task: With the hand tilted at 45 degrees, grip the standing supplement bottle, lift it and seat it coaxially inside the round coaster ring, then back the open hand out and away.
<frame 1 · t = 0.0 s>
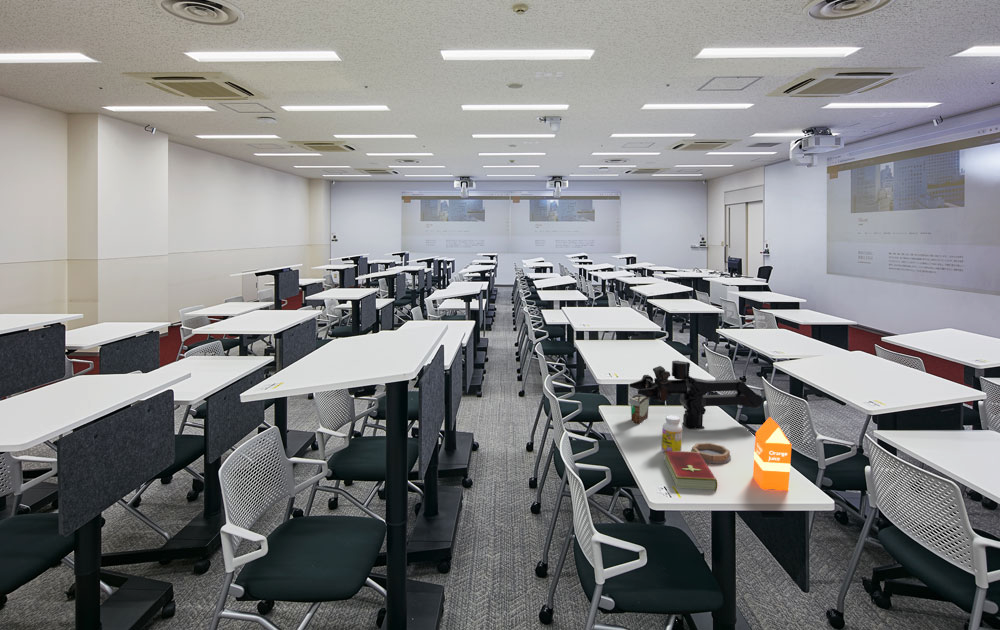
hand: (633, 388, 211), 17 cm above the table, tool horizontal, fingers open, 9 cm apart
supplement bottle: (671, 452, 189), on the table
orange juice: (769, 484, 164), on the table
coaster ring: (710, 456, 185), on the table
hardcover book: (688, 476, 171), on the table
food container: (636, 420, 223), on the table
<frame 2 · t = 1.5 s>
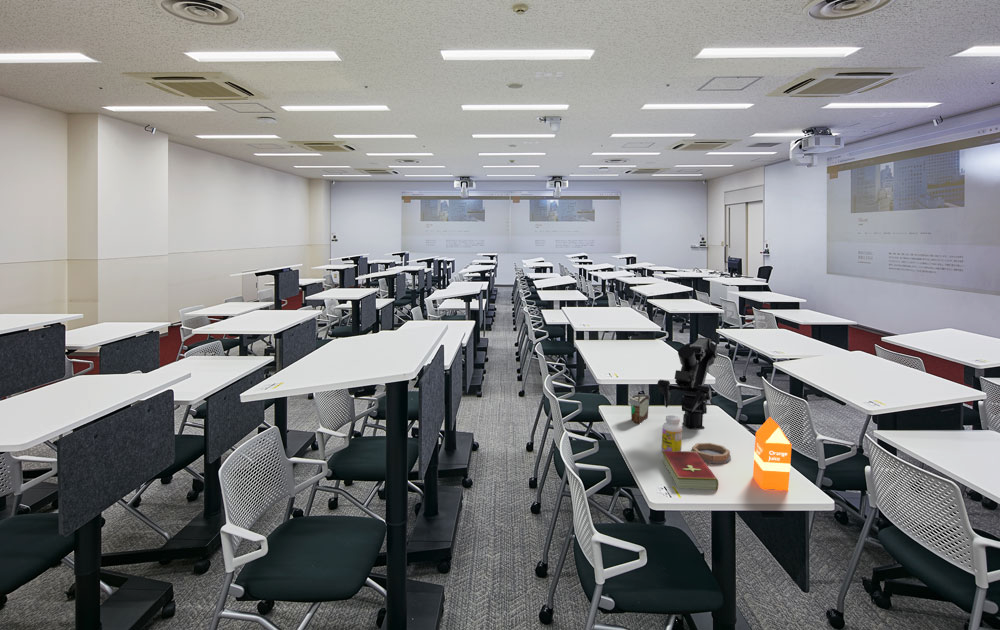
hand: (678, 409, 194), 14 cm above the table, tool tilted 45°, fingers open, 9 cm apart
nothing on the table moved.
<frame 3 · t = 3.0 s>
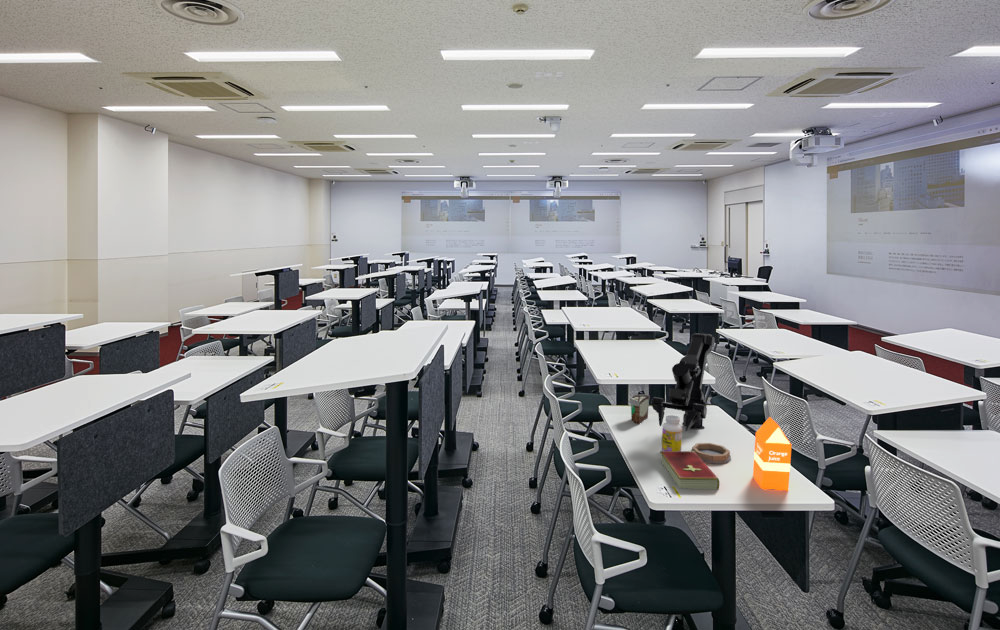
hand: (672, 428, 188), 9 cm above the table, tool tilted 45°, fingers open, 9 cm apart
nothing on the table moved.
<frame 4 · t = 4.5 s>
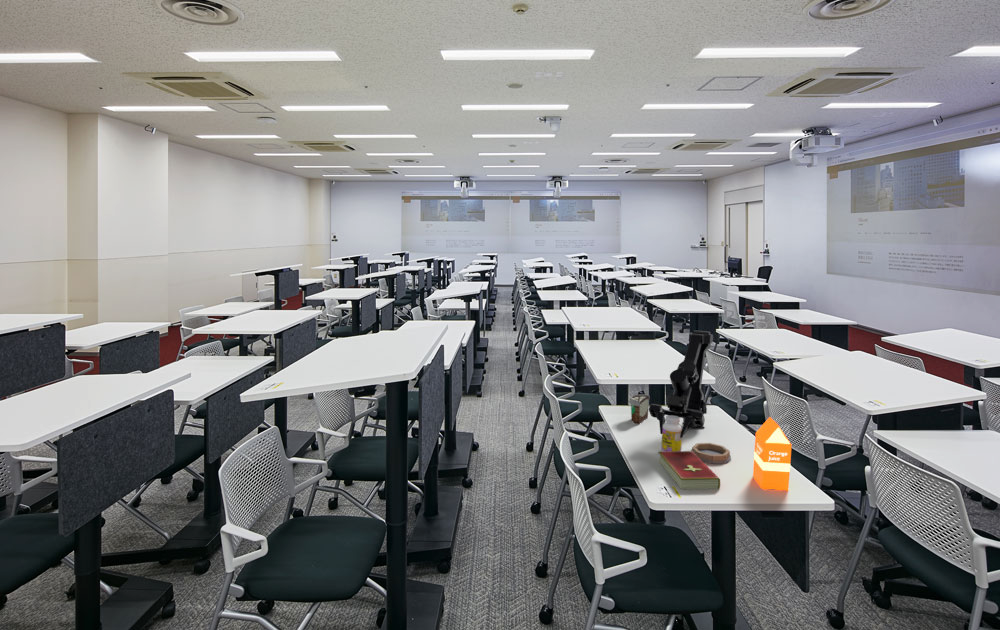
hand: (670, 435, 187), 7 cm above the table, tool tilted 45°, fingers closed on supplement bottle, 7 cm apart
supplement bottle: (671, 452, 189), on the table, touching gripper
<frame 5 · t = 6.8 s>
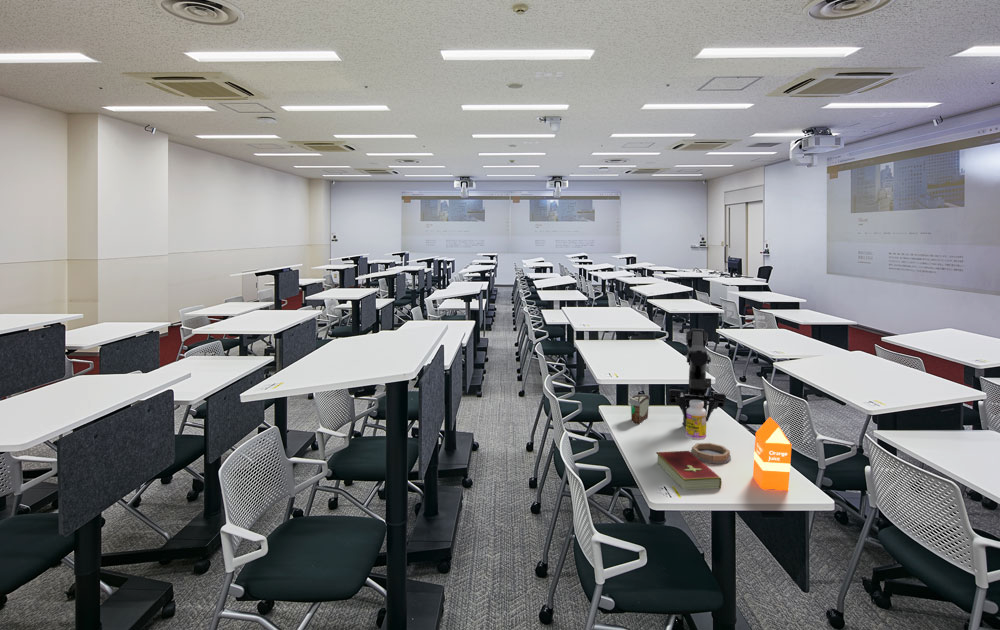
hand: (696, 420, 183), 13 cm above the table, tool tilted 45°, fingers closed on supplement bottle, 7 cm apart
supplement bottle: (695, 437, 185), point 6 cm above the table, touching gripper
when the fingers open (9 cm above the table, at t = 9.3 s): supplement bottle drops 1 cm, resting on coaster ring.
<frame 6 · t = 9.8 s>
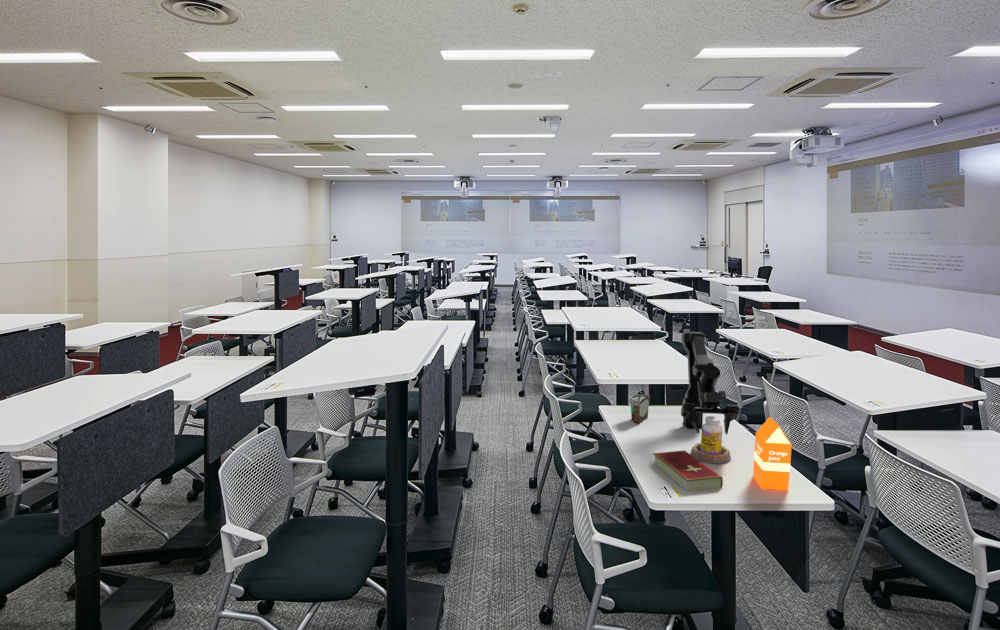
hand: (712, 433, 182), 9 cm above the table, tool tilted 45°, fingers open, 9 cm apart
supplement bottle: (710, 454, 185), point 1 cm above the table, touching coaster ring
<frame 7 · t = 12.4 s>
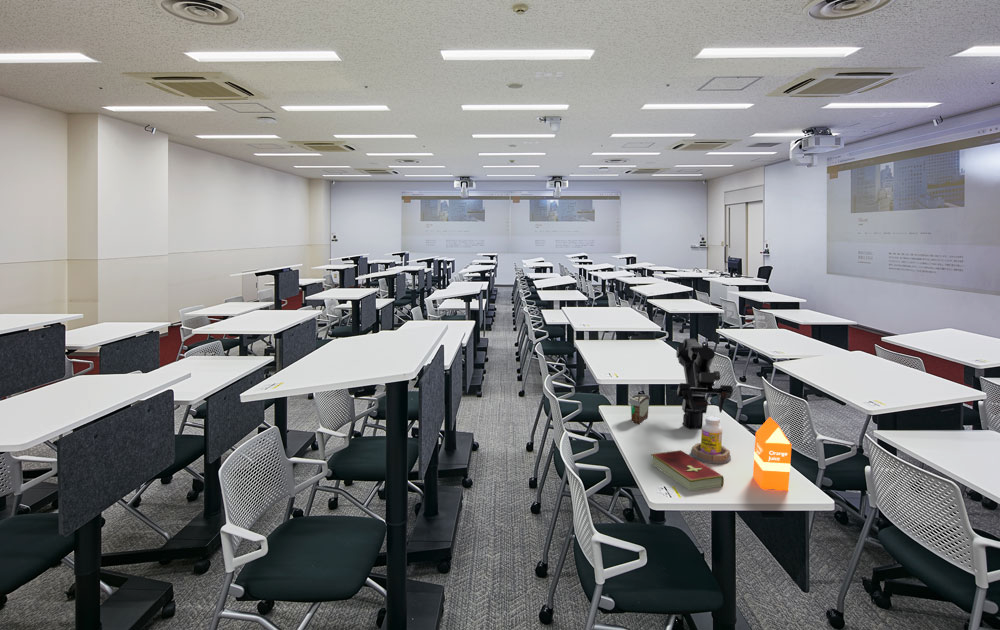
hand: (707, 411, 191), 14 cm above the table, tool tilted 45°, fingers open, 9 cm apart
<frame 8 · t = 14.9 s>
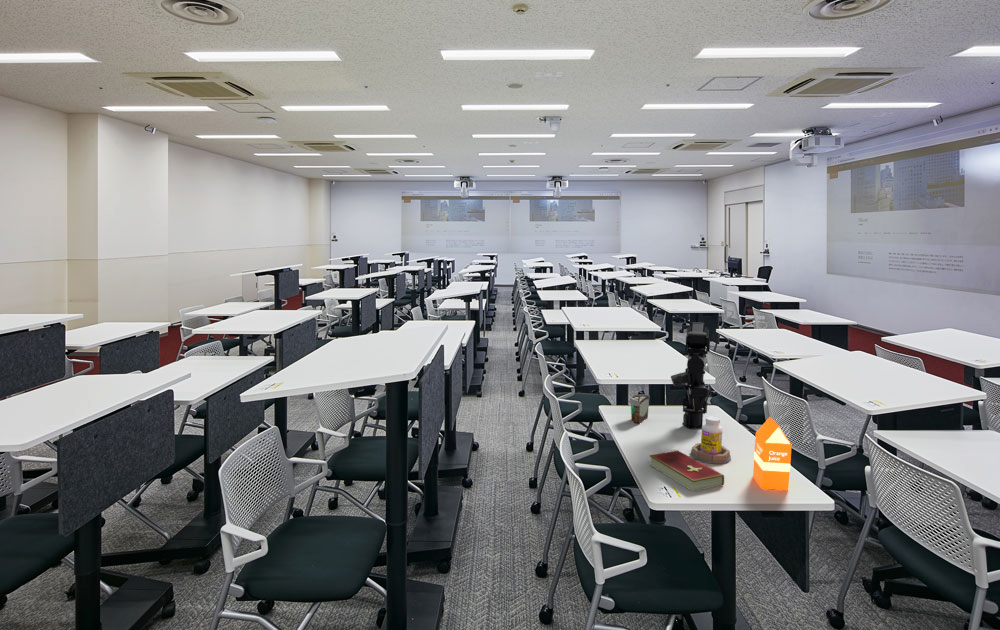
hand: (693, 407, 197), 13 cm above the table, tool pointing down, fingers open, 9 cm apart
at the end: supplement bottle 0.2 cm off-centre on the coaster ring, point 0.6 cm above the coaster ring's base; supplement bottle tilted 0°; the gripper is holding nothing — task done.
